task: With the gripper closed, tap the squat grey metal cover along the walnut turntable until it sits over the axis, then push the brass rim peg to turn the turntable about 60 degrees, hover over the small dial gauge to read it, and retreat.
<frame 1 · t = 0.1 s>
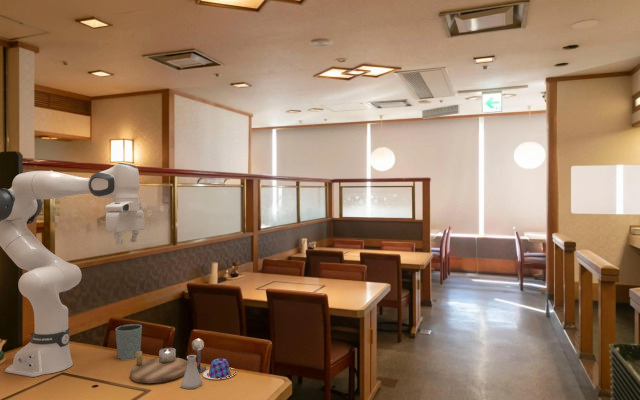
hand: (126, 243, 166), 48 cm above the table, fingers open, 8 cm apart
grey green cup: (128, 356, 183), on the table
turntable: (159, 362, 164), point 4 cm above the table, hinge at 0.0°, touching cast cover
pudding: (219, 375, 164), on the table
dial gauge: (198, 370, 167), on the table
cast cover: (167, 360, 170), point 3 cm above the table, touching turntable
flask: (191, 385, 154), on the table
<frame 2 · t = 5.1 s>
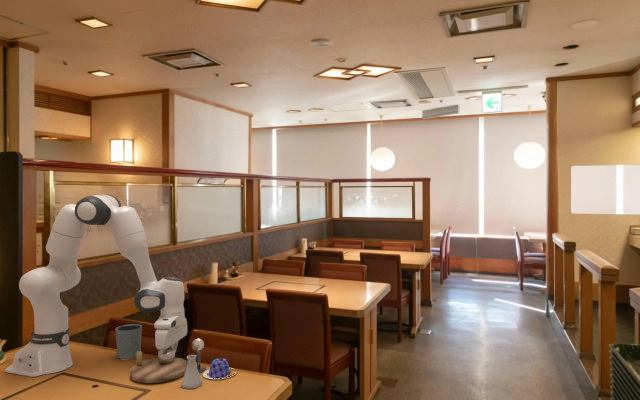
hand: (172, 354, 174), 4 cm above the table, fingers closed
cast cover: (166, 361, 169), point 3 cm above the table, touching gripper, turntable
everything else where it was.
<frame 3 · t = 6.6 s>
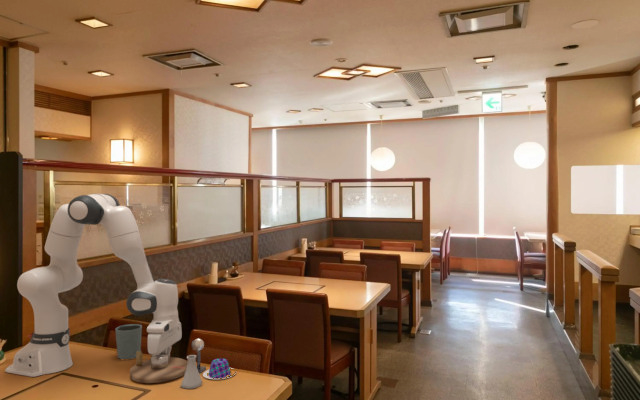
hand: (165, 358, 168), 4 cm above the table, fingers closed
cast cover: (159, 366, 164), point 3 cm above the table, touching gripper, turntable
everything else where it was.
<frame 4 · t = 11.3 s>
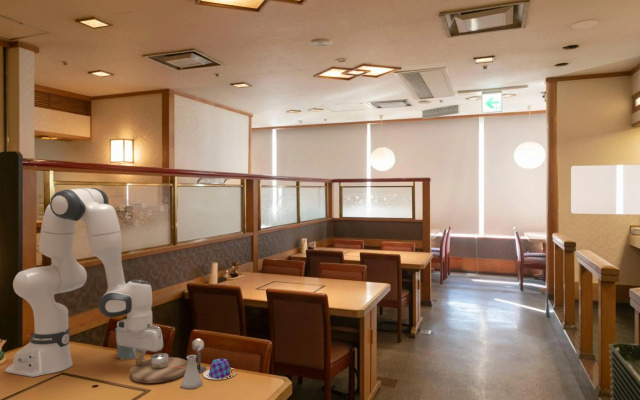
hand: (139, 359, 167), 4 cm above the table, fingers closed
turntable: (159, 362, 164), point 4 cm above the table, hinge at 1.9°, touching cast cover, gripper
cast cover: (159, 366, 164), point 3 cm above the table, touching turntable
everything else where it was.
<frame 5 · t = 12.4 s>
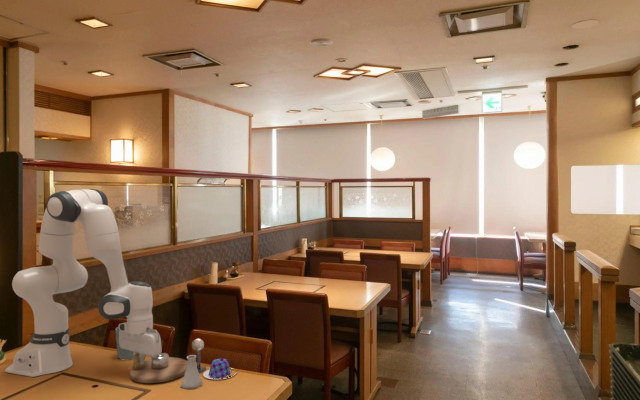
hand: (140, 364, 163), 4 cm above the table, fingers closed
turntable: (159, 362, 164), point 4 cm above the table, hinge at 27.4°, touching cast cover, gripper
everything else where it was.
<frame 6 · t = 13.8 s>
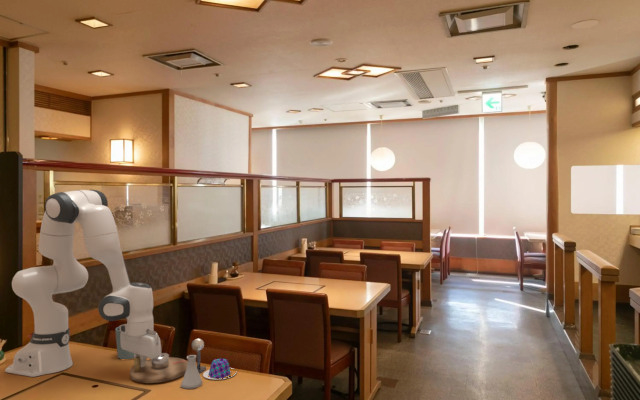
hand: (140, 366, 161), 4 cm above the table, fingers closed
turntable: (159, 362, 164), point 4 cm above the table, hinge at 46.1°, touching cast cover, gripper
everything else where it was.
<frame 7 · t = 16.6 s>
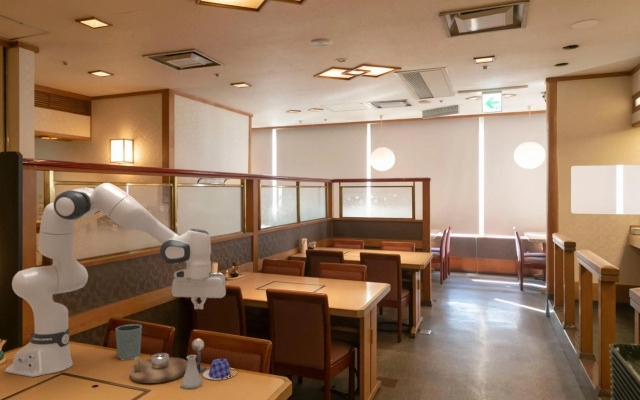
hand: (198, 309, 167), 23 cm above the table, fingers closed
turntable: (159, 362, 164), point 4 cm above the table, hinge at 47.4°, touching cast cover
everything else where it was.
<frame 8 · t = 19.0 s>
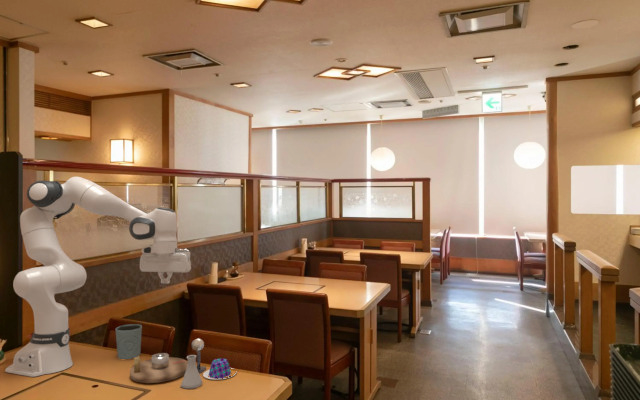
hand: (165, 283, 176), 31 cm above the table, fingers closed
nothing on the table moved.
at the end: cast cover 0.3 cm from the turntable (horizontally); turntable at +47° (first picture: +0°); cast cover tilted 0° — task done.
